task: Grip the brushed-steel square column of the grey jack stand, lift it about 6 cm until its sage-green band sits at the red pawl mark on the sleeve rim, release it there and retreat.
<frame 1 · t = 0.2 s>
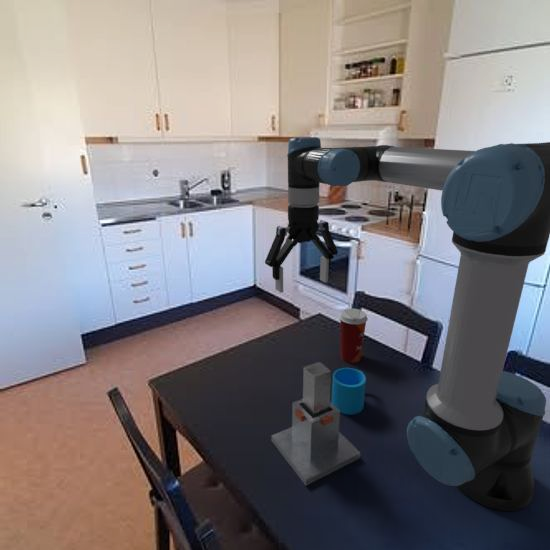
hand: (302, 285, 104), 28 cm above the table, fingers open, 13 cm apart
mug: (351, 400, 104), on the table
coffee cup: (350, 357, 123), on the table
stand base: (314, 449, 88), on the table
column: (315, 407, 84), point 11 cm above the table, slide at 0.0 cm
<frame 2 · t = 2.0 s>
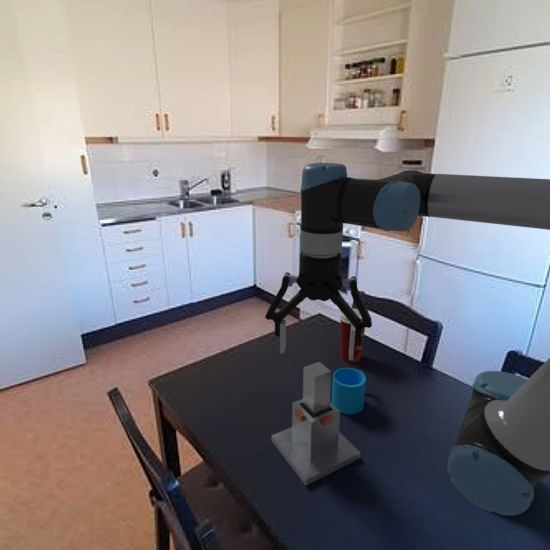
hand: (316, 353, 80), 24 cm above the table, fingers open, 13 cm apart
nothing on the table moved.
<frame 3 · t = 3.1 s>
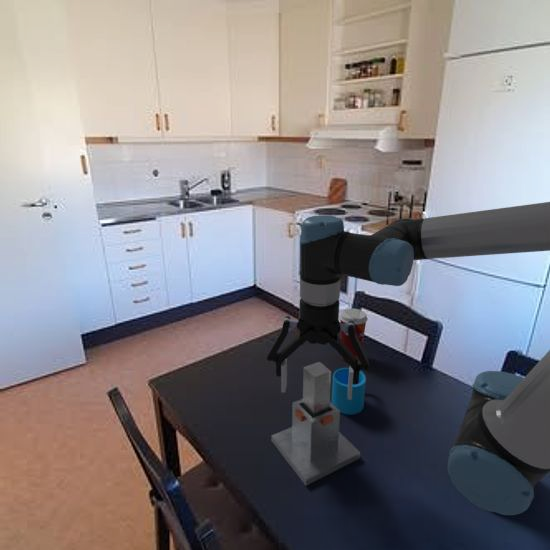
hand: (316, 392, 83), 15 cm above the table, fingers open, 13 cm apart
nothing on the table moved.
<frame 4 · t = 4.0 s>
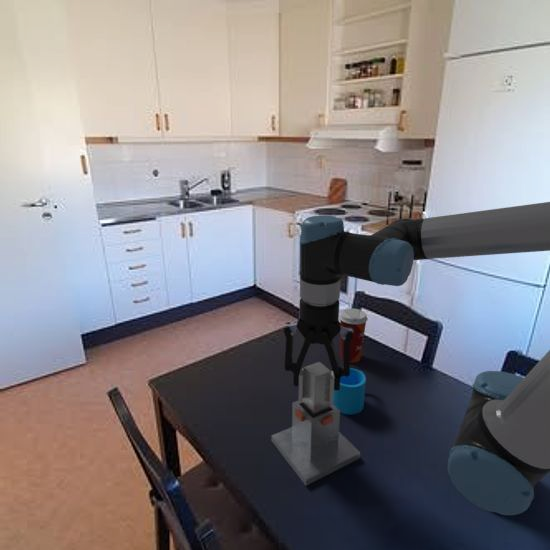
hand: (316, 399, 84), 13 cm above the table, fingers closed on column, 6 cm apart
column: (315, 407, 84), point 11 cm above the table, slide at 0.0 cm, touching gripper
everything else where it was.
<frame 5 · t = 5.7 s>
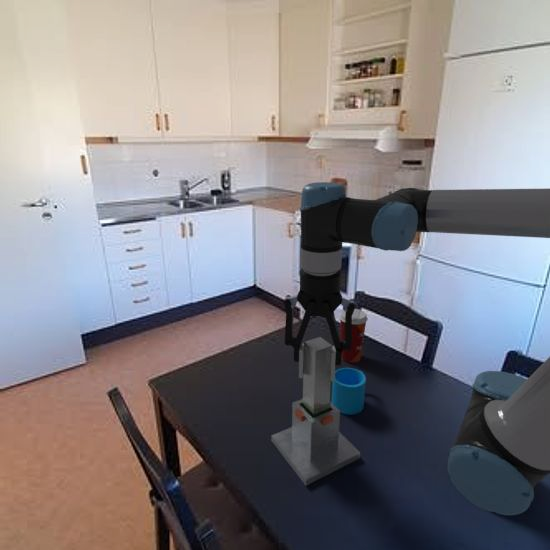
hand: (317, 375, 82), 19 cm above the table, fingers closed on column, 6 cm apart
column: (316, 384, 82), point 17 cm above the table, slide at 5.9 cm, touching gripper
everything else where it was.
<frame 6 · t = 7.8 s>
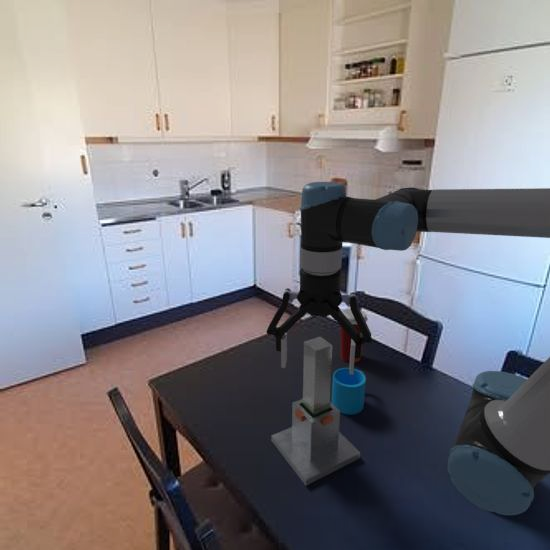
hand: (317, 367, 81), 21 cm above the table, fingers open, 13 cm apart
column: (316, 383, 82), point 17 cm above the table, slide at 6.0 cm
everything else where it was.
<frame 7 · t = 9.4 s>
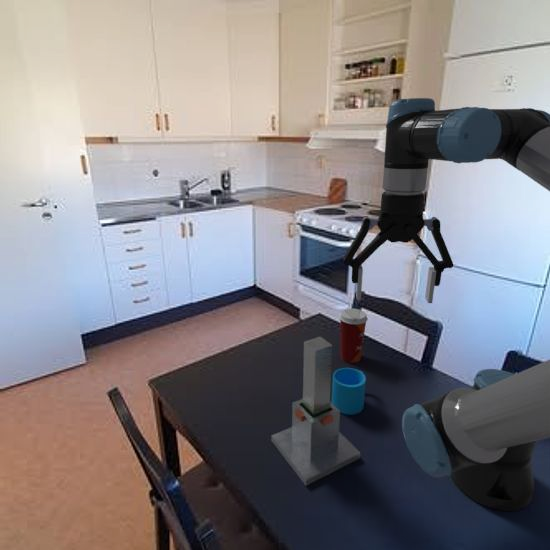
hand: (393, 299, 80), 34 cm above the table, fingers open, 13 cm apart
nothing on the table moved.
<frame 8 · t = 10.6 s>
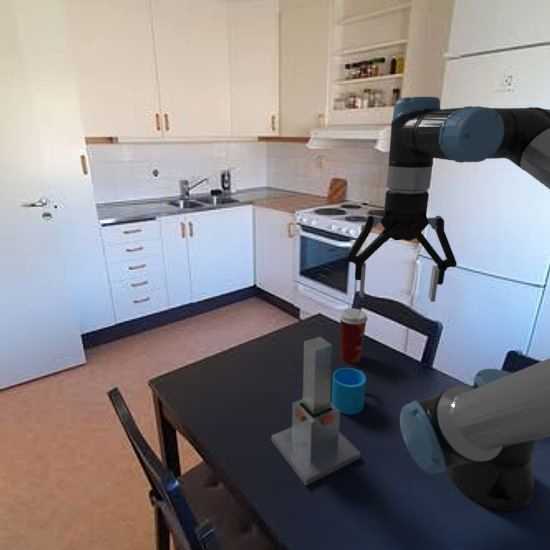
hand: (396, 296, 80), 35 cm above the table, fingers open, 13 cm apart
nothing on the table moved.
at the end: column slide at 6.0 cm; the gripper is holding nothing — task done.
